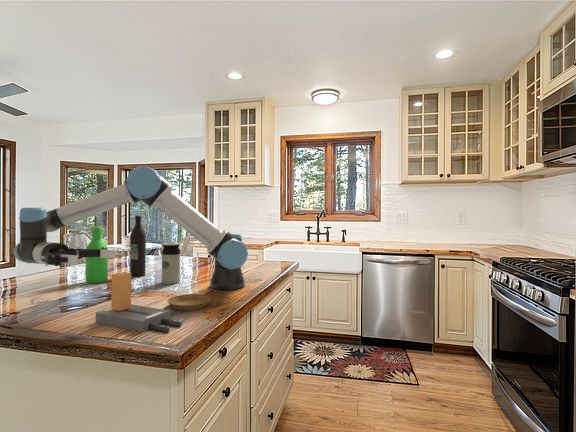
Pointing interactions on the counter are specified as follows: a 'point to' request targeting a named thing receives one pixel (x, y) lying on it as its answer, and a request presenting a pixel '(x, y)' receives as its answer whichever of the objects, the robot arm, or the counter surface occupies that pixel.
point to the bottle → (96, 259)
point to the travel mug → (170, 263)
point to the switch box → (137, 318)
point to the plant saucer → (189, 301)
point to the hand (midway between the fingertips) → (97, 257)
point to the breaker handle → (121, 291)
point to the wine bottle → (137, 250)
